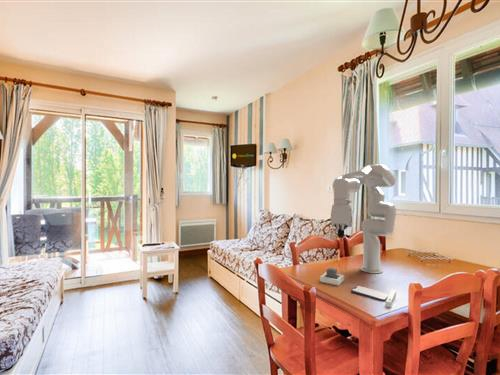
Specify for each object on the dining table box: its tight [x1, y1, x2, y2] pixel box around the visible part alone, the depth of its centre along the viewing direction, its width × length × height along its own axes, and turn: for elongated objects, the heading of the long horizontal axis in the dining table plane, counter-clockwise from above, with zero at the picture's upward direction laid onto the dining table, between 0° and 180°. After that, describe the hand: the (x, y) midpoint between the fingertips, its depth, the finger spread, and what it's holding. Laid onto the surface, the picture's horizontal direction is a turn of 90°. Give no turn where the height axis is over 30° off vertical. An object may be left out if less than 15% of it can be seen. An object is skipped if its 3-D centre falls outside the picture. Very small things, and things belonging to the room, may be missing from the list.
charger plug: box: [326, 266, 338, 279], centre depth 150 cm, size 4×4×7 cm
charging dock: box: [385, 289, 397, 308], centre depth 125 cm, size 16×2×3 cm, turn 145°
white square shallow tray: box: [319, 271, 345, 287], centre depth 149 cm, size 10×10×3 cm
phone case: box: [350, 285, 390, 303], centre depth 132 cm, size 9×2×16 cm
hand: (341, 237), depth 143 cm, fingers closed
